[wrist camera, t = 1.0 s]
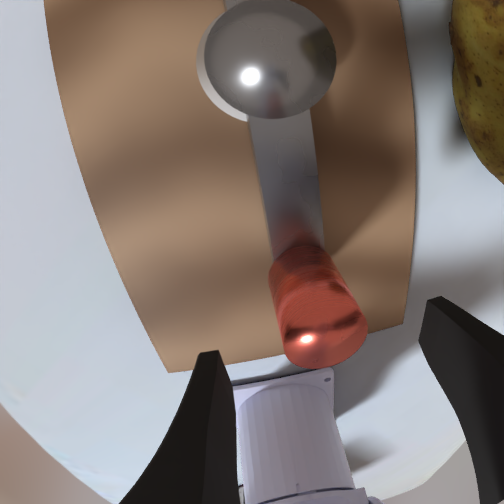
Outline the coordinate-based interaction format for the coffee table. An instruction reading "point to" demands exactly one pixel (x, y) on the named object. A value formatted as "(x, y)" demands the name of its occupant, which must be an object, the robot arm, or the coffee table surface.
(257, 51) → the lever
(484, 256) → the coffee table surface
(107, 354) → the coffee table surface
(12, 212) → the coffee table surface
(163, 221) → the board
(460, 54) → the potato
